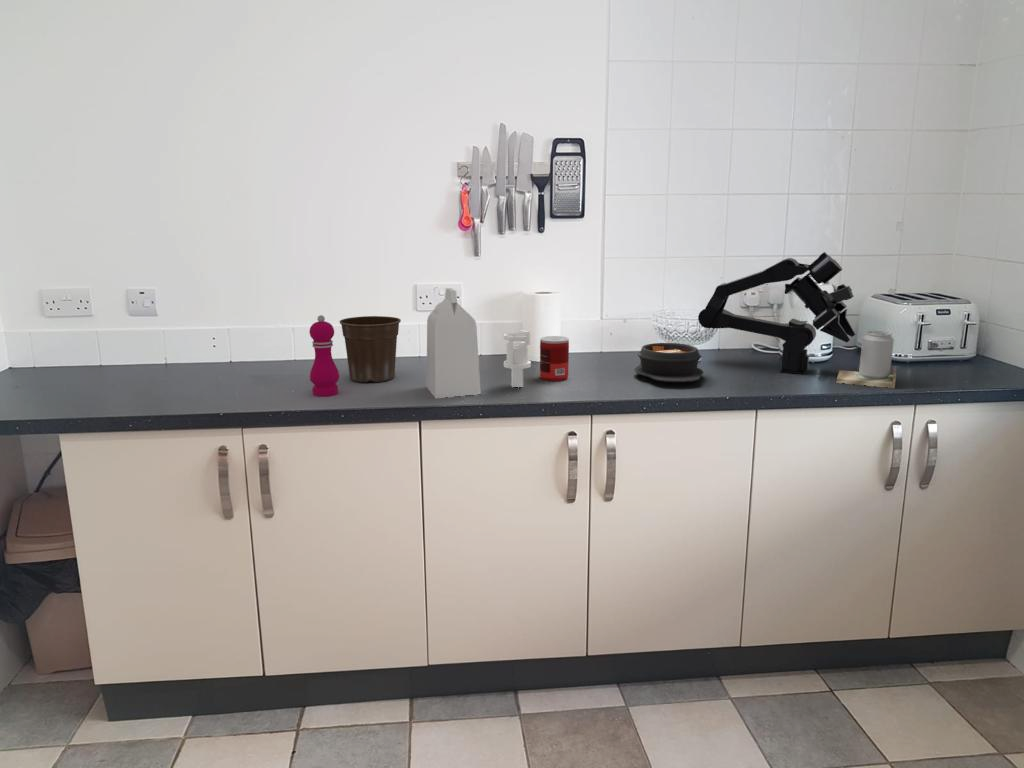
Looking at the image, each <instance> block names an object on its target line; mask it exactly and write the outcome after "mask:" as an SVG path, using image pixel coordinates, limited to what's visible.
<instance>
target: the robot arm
mask: <svg viewBox="0 0 1024 768" xmlns="http://www.w3.org/2000/svg"><path fill="white" fill-rule="evenodd" d="M842 270H843V267H842V266H841V265H840V263H838V262H837V260H836V259H834V258H832V257H831V256H830V255H828V254H827V252H825V251H823V252H822V253H821V254H820V255H819V256H818V257H817V258H816V259H815V260H814V261H813V262H812V263H811V264H808V263H806V264H805V263H800V262H799V261H797V259H794V258H792V257H787V258H785V259H783V260H780V261H778V262H777V263H775V264H773V265H772V266H769V267H768V268H765V269H764V270H762V271H761V270H760V271H758V272H754V273H753V274H749V275H746V276H743V277H740V278H737V279H734V280H732V281H728V282H724V283H723V282H722V283H721V284H719V285H717V286H716V288H715V290H714V293H713V294H712V296H711V297H710V299H709V301H708V303H707V304H706V306H705V308H703V309H702V310H701V311H700V312H699V313H698V317H697V320H698V323H699V325H701V327H702V328H704V329H734V330H737V331H744V332H750V333H754V334H759V335H763V336H769V337H774V338H778V339H781V340H783V341H784V342H783V343H782V345H781V346H782V356H781V367H780V370H779V372H780V373H787V374H788V373H789V374H799V375H800V374H801V375H805V374H806V372H807V371H809V362H810V361H809V360H810V356H809V355H808V349H806V348H807V347H808V346H809V345H811V344H812V342H813V341H814V340H815V338H816V337H817V332H816V330H819V329H820V330H819V331H820V332H823V333H825V334H826V335H830V336H832V337H834V338H836V339H838V340H840V341H842V342H845V343H849V341H851V339H850V338H849V336H850V337H851V338H853V337H854V336H856V333H855V331H854V329H853V328H852V325H851V323H850V322H849V320H848V318H847V313H848V312H847V311H848V308H847V307H848V306H847V305H846V304H845V303H844V301H848V300H850V299H852V298H854V294H853V290H852V288H851V286H850V285H847V286H846V285H845V284H844V283H842V284H840V285H837V286H836V290H834V291H832V292H830V293H829V292H828V291H827V290H824V289H822V288H821V287H820V286H819V285H820V284H821V283H823V284H825V285H826V284H827V283H829V282H830V281H831V280H832V279H833V278H834V277H836V276H837V275H838V274H839V273H840V272H841V271H842ZM808 271H809V272H808ZM807 272H808V273H807ZM804 274H806V275H805V276H803V277H802V278H801V277H800V276H801V275H804ZM797 276H798V277H797ZM795 277H796V278H795ZM794 278H795V279H794ZM792 279H794V280H793V281H791V280H792ZM787 281H791V283H785V284H784V288H785V289H784V294H785V295H787V294H789V293H791V292H792V291H793V293H794V294H795V295H796V296H797V297H798V298H799V299H800V301H801V302H803V304H804V307H805V309H806V310H807V309H809V311H811V313H812V314H813V315H814V318H813V320H812V324H811V323H807V322H808V320H804V321H803V320H800V319H799V320H798V319H796V318H791V319H790V320H789V321H788V323H785V322H784V323H782V322H777V321H771V320H766V319H761V318H754V317H749V316H744V315H739V314H734V313H732V312H730V311H729V310H727V309H725V306H726V305H727V302H728V300H729V298H730V296H732V295H736V294H739V293H741V292H744V291H748V290H750V289H753V288H756V287H759V286H762V285H765V284H773V283H781V282H787Z"/></svg>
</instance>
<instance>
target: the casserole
mask: <svg viewBox="0 0 1024 768" xmlns="http://www.w3.org/2000/svg"><path fill="white" fill-rule="evenodd" d="M637 356H638V358H639V359H640V363H639V365H637V366H635V368H634V372H635V373H636V374H638V375H640V376H643V377H646V378H647V379H650V380H654V381H658V382H664V383H690V382H691V383H692V382H697V381H699V380H700V379H701V376H702V375H703V374H704V371H703V369H702V368H699V367H698V365H699V361H700V360H701V358H702V355H701V354H700V352H699V349H698V347H696V346H693V345H690V344H685V343H677V342H655V343H649V344H644V345H642V347H641V348H640V350H639V352H638V353H637Z"/></svg>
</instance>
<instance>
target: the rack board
mask: <svg viewBox="0 0 1024 768" xmlns="http://www.w3.org/2000/svg"><path fill="white" fill-rule="evenodd" d="M892 371H893V373H892V374H890V375H889V376H888V377H886V378H885V379H870V378H865V377H863V376H862V375H861V374H860V373H859V371H855V370H854V371H852V370H844V369H843V370H842V369H839V370H838V374H837V377H836V381H835V383H836V384H842V383H845V384H844V385H853V384H855V386H864V385H866V386H865V387H867V386H868V387H874V386H876V387H877V388H885V387H888V389H895V387H896V382H897V381H896V378H897V367H893V370H892ZM876 387H875V388H876Z"/></svg>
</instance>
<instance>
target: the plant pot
mask: <svg viewBox="0 0 1024 768" xmlns="http://www.w3.org/2000/svg"><path fill="white" fill-rule="evenodd" d="M401 321H402V320H401V318H398V317H394V316H383V315H381V316H380V315H378V316H377V315H370V316H369V315H368V316H367V315H366V316H365V315H364V316H353V317H347V318H343V319H340V320H339V324H340V325H341V331H342V336H343V338H344V344H345V350H346V357H347V365H348V373H349V374H348V375H349V379H350V380H351V381H353V382H357V383H369V382H373V383H380V382H381V383H382V382H383V383H384V382H388V381H391V380H392V379H394V378H395V375H396V357H397V345H398V344H397V342H398V335H399V330H400V329H399V328H400V323H401Z"/></svg>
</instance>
